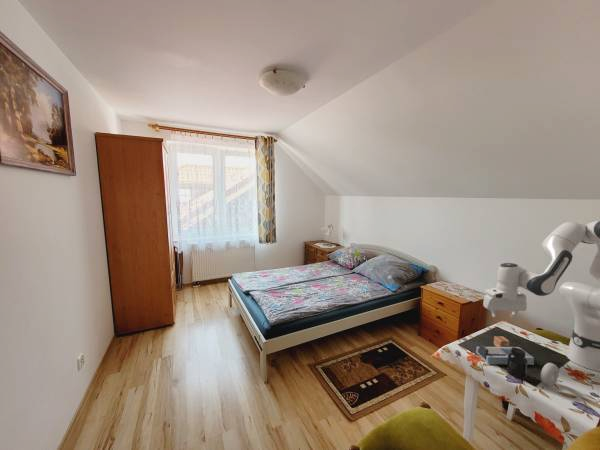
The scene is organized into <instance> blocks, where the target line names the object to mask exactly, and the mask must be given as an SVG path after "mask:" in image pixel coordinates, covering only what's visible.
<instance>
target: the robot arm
mask: <svg viewBox="0 0 600 450" xmlns="http://www.w3.org/2000/svg"><path fill="white" fill-rule="evenodd" d="M580 243H583V244H589V245H594V244H595V245H596V246H597V252H596V254H595V256H594V258H593V260H592V262H591V265H590V267H589V269H588V271H589V274H590V275H591V276H592V277H593V278H594V279H595V280H597V281H599V282H600V220H595V221H591V222H588V223H583V224H580V223H578V222H574V221H567V222H563V223H561V224H560V225H559V226H557V227H556V228H555V229H554V230H553V231H551V232H550V233H549V234H548V235H547V236H546V237H545V238H544V239H543V241H542V243H541V248H542V250H543V251H544V253H546V254H547V255H548V256H550V258H551V261H550V263H549V264H548V266H547V267H546V268H545V270H544V271H543V272H542V273H540V274H539V273H535V272H534V271H531V270H527V269H525V268H523V267H521V266H519V265H518V264H516V263H513V262H504V263H501V264H500V265H499V266H498V268H497V274H496V280H497V282H496V285H495V287H490V288H488V289H485V295H484V298H483V303H482V306H483V308H485V309H487V310H490V312H491V316H492V317H493V318H498V314H497V313H496V312H497V311H512V312H511V313H509V317H510V318H511V319H515V318H516V316H517V315H518V313H519V312H525V311H526V310H527V308H528V307H527V306H528V305H527V296H526V295H527V294H524V293H518V288H522V289H524V290H526V291H529V292H530V293H532V294H534V295H536V296H539V297H545V296H549V295H550V294H552V293H553V292H554V291H555V289H556V287H557V285H558V282H559V280H560V279H561V277H562V276H563V275H564V274H565V271H567V269H568V267H569V266H570V264H571V263H572V261H573V257H574V256H573V251H574V250H575V248H577V246H578V245H579V244H580ZM558 292H559V294H560V295H559V296H561V298H562V299H563V300H565V302H567V304H568V306H570V308H571V310H572V312H573V317H574V329H573V330H572V332H571V334H572V335H571V338H570V341H569V344H568V347H566V350H565V351H566V352H565V353H566V354H565V357H566V358H567V359H569V360H570V361H571V362H573V363H574V364H576V365H579V366H580V367H583V368H586V369H589V370H591V371H595V372H598V373H600V286H595V285H590V284H587V283H583V282H577V281H565V282H563V283H562V284H561V285H560V286H559V289H558Z"/></svg>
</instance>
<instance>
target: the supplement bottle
mask: <svg viewBox="0 0 600 450" xmlns="http://www.w3.org/2000/svg"><path fill="white" fill-rule="evenodd" d="M512 347H513V348H512V349H511V352H510V353H509V354H508V360H507V364H506V372H507V374H509V375H510V376H511V377H514V378H517V379H520V380H525V379H526V378H527V371H528V365H527V363H528V361H527V359H526V357H525V352H526V351H525V350H524V351H523V349H522V348H521V349H519V348H515V347H516V346H512Z"/></svg>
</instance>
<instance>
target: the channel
mask: <svg viewBox="0 0 600 450" xmlns="http://www.w3.org/2000/svg"><path fill="white" fill-rule="evenodd" d="M484 347H485V348H500V349H501V350H502V351H504V352H505V353H506V356H486V359H485V358H484V357H483V356H482V355H480V354H479V346H476V348H475V349H476V350H475V354H477V355H478V356H479V357H480V358H481V359H482V360H483V361H484V362H486V363H487V365H507V360H508V354H509V353H510V352H511V349H512V348H513V347H515V348H519V349H522V348H521V347H520V346H509V347H496V346H484ZM522 350H523V349H522ZM523 351H525V350H523ZM525 357H526V359H527V361H528V363H527V366H528V365H531V366H532V365H533V366H534V365H535V363H534V361H535V357H534V356H532V355H531V354H529V352H527V351H525Z"/></svg>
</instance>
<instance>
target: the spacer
mask: <svg viewBox="0 0 600 450" xmlns="http://www.w3.org/2000/svg"><path fill="white" fill-rule="evenodd" d="M493 345H494V347H510V340H508V339H507V338H506V337H504V336H503V335H502V336H501V335H500V336H498V335H497V336H495V335H494V336H493Z"/></svg>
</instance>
